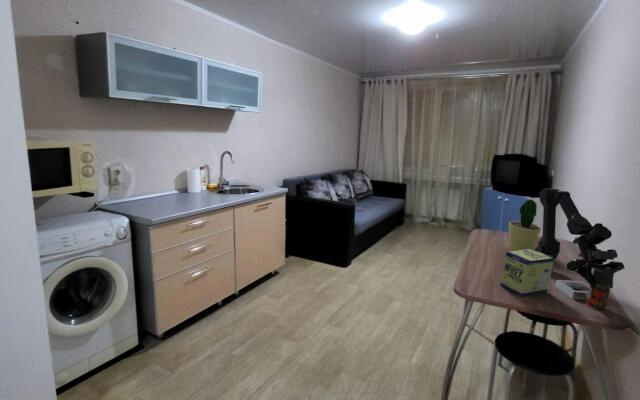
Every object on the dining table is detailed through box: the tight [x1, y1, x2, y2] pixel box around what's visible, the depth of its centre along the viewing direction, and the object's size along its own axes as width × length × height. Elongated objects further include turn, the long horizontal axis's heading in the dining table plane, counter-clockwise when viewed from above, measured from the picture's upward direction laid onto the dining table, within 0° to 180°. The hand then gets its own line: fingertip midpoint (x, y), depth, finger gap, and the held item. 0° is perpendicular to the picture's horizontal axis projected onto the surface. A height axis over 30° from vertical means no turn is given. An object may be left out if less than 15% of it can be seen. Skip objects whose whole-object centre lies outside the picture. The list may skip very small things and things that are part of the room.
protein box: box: [500, 248, 556, 297], centre depth 144 cm, size 10×16×16 cm
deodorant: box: [585, 267, 615, 311], centre depth 132 cm, size 6×6×15 cm
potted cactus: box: [508, 198, 542, 251], centre depth 190 cm, size 15×15×30 cm
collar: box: [555, 279, 590, 300], centre depth 144 cm, size 11×11×3 cm
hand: (603, 287), depth 131 cm, fingers closed on deodorant, 6 cm apart
